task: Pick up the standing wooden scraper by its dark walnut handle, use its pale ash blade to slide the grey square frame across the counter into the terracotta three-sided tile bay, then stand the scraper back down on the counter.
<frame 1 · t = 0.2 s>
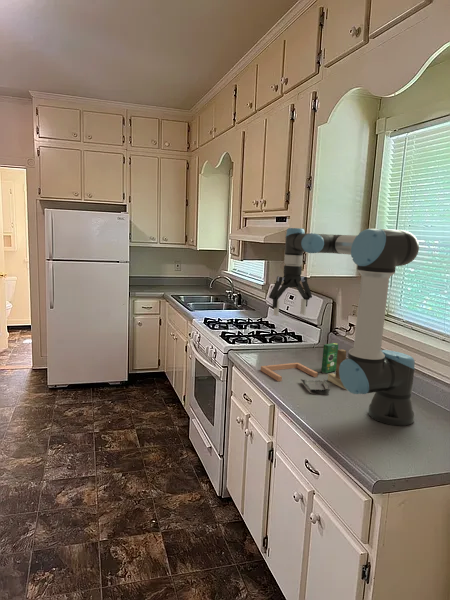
hand: (289, 314, 190), 28 cm above the worktop, tool pointing down, fingers open, 13 cm apart
wooden scraper: (338, 384, 188), on the worktop
tile bay: (289, 374, 198), on the worktop
coffee box: (328, 372, 205), on the worktop
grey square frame: (315, 390, 182), on the worktop
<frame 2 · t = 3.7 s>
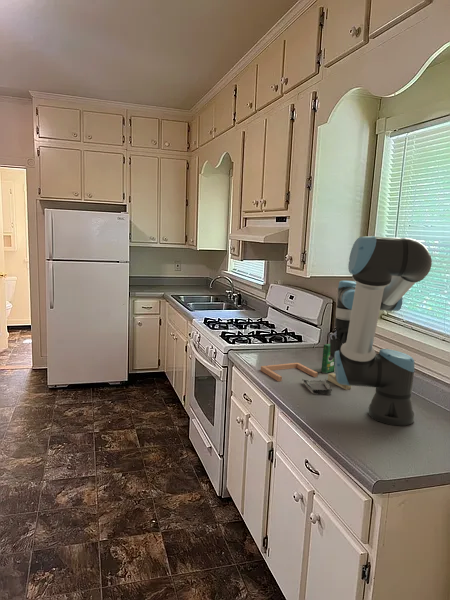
hand: (340, 373, 187), 5 cm above the worktop, tool pointing down, fingers closed on wooden scraper, 2 cm apart
wooden scraper: (338, 384, 188), on the worktop, touching gripper
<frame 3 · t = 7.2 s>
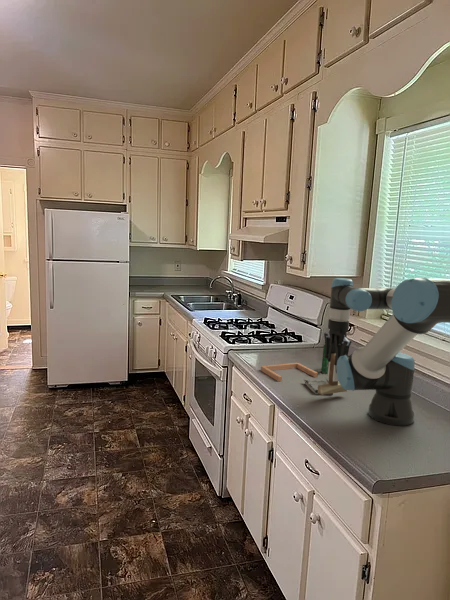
hand: (333, 379, 171), 8 cm above the worktop, tool pointing down, fingers closed on wooden scraper, 2 cm apart
wooden scraper: (332, 391, 172), point 2 cm above the worktop, touching gripper
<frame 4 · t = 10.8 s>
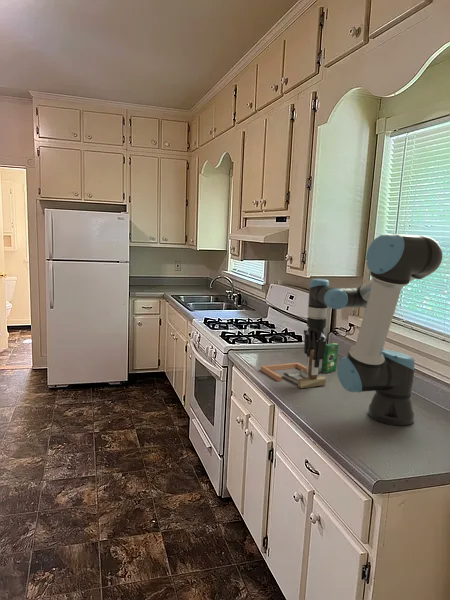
hand: (312, 373, 183), 6 cm above the worktop, tool pointing down, fingers closed on wooden scraper, 2 cm apart
wooden scraper: (311, 385, 184), on the worktop, touching gripper
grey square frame: (299, 381, 191), on the worktop
everything else where it was.
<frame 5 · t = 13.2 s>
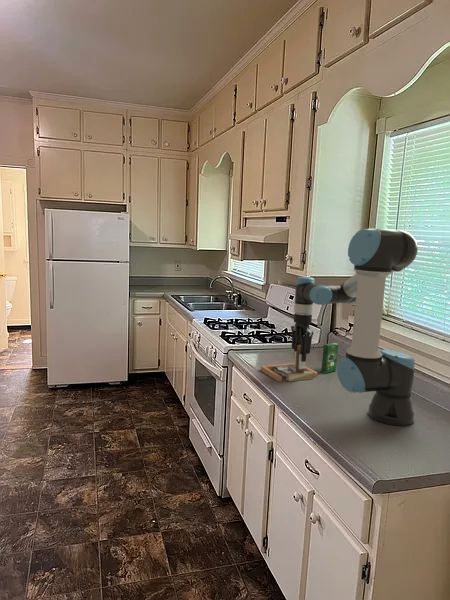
hand: (299, 367, 191), 5 cm above the worktop, tool pointing down, fingers closed on wooden scraper, 3 cm apart
wooden scraper: (299, 379, 192), on the worktop, touching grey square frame, gripper
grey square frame: (288, 374, 199), on the worktop, touching tile bay, wooden scraper
everything else where it was.
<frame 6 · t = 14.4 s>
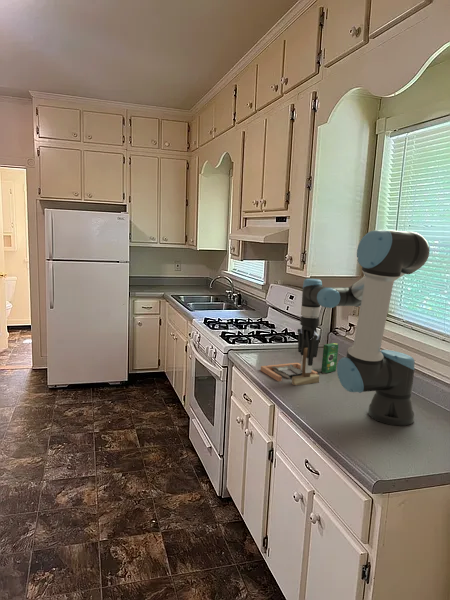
hand: (305, 371, 187), 5 cm above the worktop, tool pointing down, fingers closed on wooden scraper, 2 cm apart
wooden scraper: (305, 382, 188), on the worktop, touching gripper
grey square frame: (288, 375, 199), on the worktop
everything else where it was.
when the fingers open (6 cm above the worktop, at t = 19.1 s): wooden scraper stays where it is, on the worktop.
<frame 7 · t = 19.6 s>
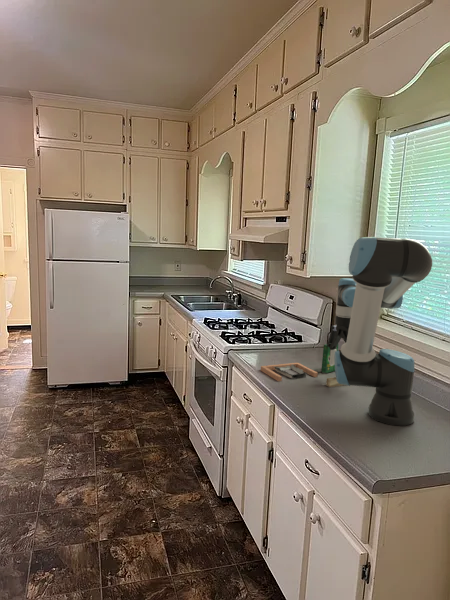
hand: (340, 368, 187), 7 cm above the worktop, tool pointing down, fingers open, 10 cm apart
wooden scraper: (339, 384, 188), on the worktop
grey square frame: (290, 375, 199), on the worktop
everything else where it was.
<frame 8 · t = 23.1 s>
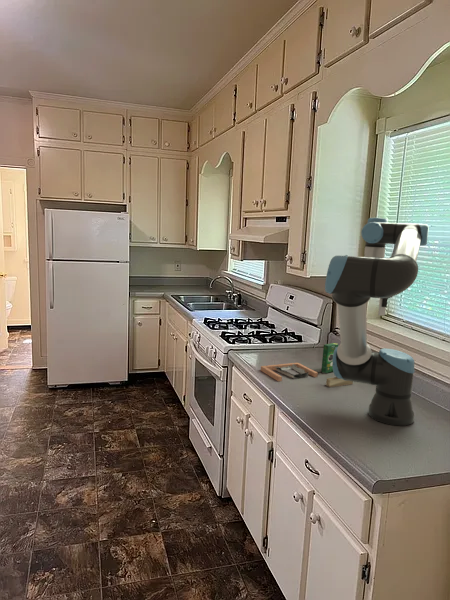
hand: (368, 312, 176), 33 cm above the worktop, tool pointing down, fingers open, 13 cm apart
at the end: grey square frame inside the target area (1.6 cm from its centre), on the worktop; the gripper is holding nothing; wooden scraper tilted 0° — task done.
